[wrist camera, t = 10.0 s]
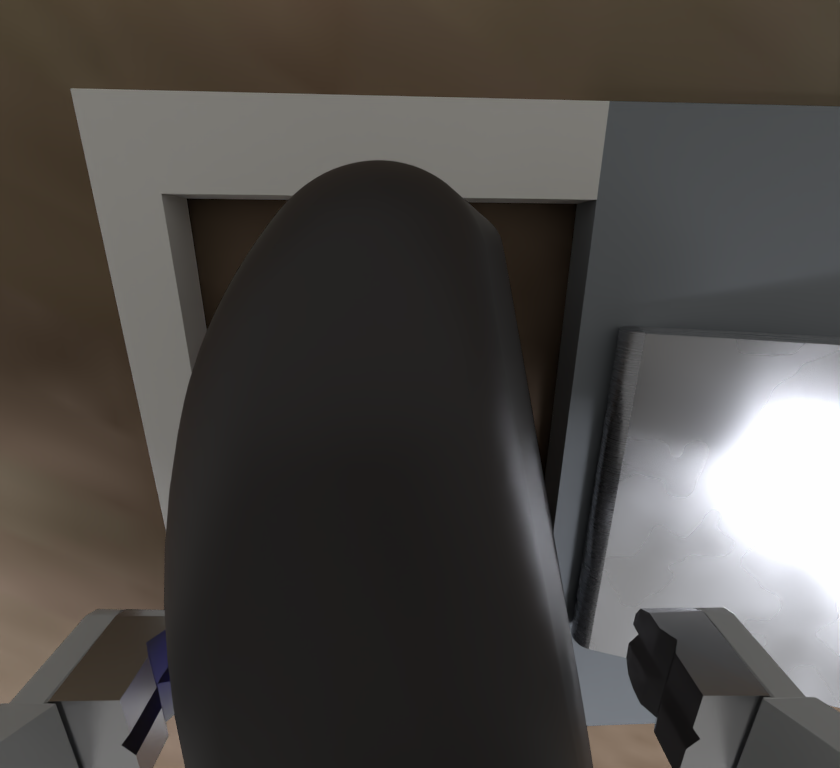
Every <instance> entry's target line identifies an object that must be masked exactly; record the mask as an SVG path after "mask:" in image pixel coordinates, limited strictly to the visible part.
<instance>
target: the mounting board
mask: <svg viewBox="0 0 840 768" xmlns="http://www.w3.org/2000/svg"><path fill="white" fill-rule="evenodd" d="M70 90H71V94H72V99H73V104H74V108H75V113H76V118H77V122H78V127H79V131H80V136H81V141H82V145H83V150H84V155H85V159H86V164H87V169H88V173H89V178H90V182H91V187H92V192H93V196H94V201H95V206H96V210H97V215H98V219H99V224H100V229H101V233H102V238H103V243H104V247H105V252H106V256H107V261H108V266H109V270H110V275H111V280H112V284H113V289H114V293H115V298H116V303H117V307H118V312H119V317H120V321H121V326H122V330H123V335H124V340H125V344H126V349H127V354H128V358H129V363H130V368H131V372H132V377H133V381H134V386H135V391H136V395H137V400H138V405H139V409H140V414H141V418H142V423H143V428H144V432H145V437H146V442H147V446H148V451H149V455H150V460H151V465H152V469H153V474H154V479H155V483H156V488H157V492H158V497H159V502H160V506H161V511H162V516H163V520H164V525H165V529H166V527H167V514H168V501H169V489H170V482H171V476H172V469H173V462H174V455H175V448H176V441H177V434H178V429H179V424H180V419H181V414H182V409H183V404H184V400H185V396H186V392H187V388H188V384H189V380H190V377H191V374H192V370H193V367H194V364H195V361H196V358H197V355H198V352H199V350H200V347H201V344H202V342H203V339H204V337H205V334H206V332H207V328H206V322H205V315H204V309H203V302H202V296H201V289H200V282H199V276H198V269H197V263H196V256H195V250H194V243H193V236H192V230H191V223H190V217H189V210H188V204H187V199H257V200H289V199H290V198H291V197H292V196H293V195H294V194H295V193H296V192H297V191H298V190H300V189H301V188H302V187H303V186H305V185H306V184H307V183H309V182H310V181H312V180H313V179H315V178H316V177H318V176H320V175H322V174H324V173H326V172H328V171H330V170H332V169H335V168H338V167H340V166H344V165H347V164H351V163H355V162H361V161H369V160H387V161H396V162H401V163H406V164H409V165H413V166H416V167H418V168H421V169H423V170H425V171H427V172H429V173H431V174H433V175H435V176H436V177H438V178H440V179H441V180H443V181H444V182H445V183H447V184H448V185H449V186H450V187H451V188H452V189H454V190H455V191H456V192H457V193H458V194H459V195H460V196H461V197H462V198H464V199H465V200H466V201H467V202H479V203H554V204H577V208H576V216H575V225H574V233H573V242H572V251H571V259H570V268H569V276H568V285H567V293H566V302H565V310H564V319H563V327H562V336H561V345H560V353H559V362H558V370H557V379H556V387H555V396H554V404H553V413H552V421H551V430H550V439H549V447H548V456H547V464H546V473H545V481H544V482H545V488H546V494H547V499H548V505H549V511H550V516H551V522H552V528H553V534H554V539H555V545H556V551H557V557H558V562H559V568H560V574H561V580H562V585H563V591H564V597H565V603H566V608H567V614H568V620H569V626H570V631H571V627H572V621H573V615H574V608H575V602H576V596H577V590H578V583H579V577H580V571H581V565H582V558H583V552H584V546H585V540H586V533H587V527H588V521H589V515H590V508H591V502H592V496H593V490H594V483H595V477H596V471H597V465H598V458H599V452H600V446H601V440H602V433H603V427H604V421H605V415H606V408H607V402H608V396H609V390H610V383H611V377H612V371H613V365H614V358H615V352H616V346H617V340H618V333H619V328H620V327H623V326H643V327H662V328H680V329H698V330H717V331H735V332H754V333H772V334H790V335H809V336H827V337H840V106H799V105H757V104H714V103H672V102H630V101H588V100H545V99H503V98H461V97H418V96H376V95H334V94H292V93H249V92H207V91H165V90H122V89H80V88H70ZM571 637H572V635H571ZM572 643H573V649H574V654H575V660H576V666H577V671H578V677H579V683H580V689H581V695H582V701H583V707H584V713H585V719H586V725H587V726H595V725H622V724H648V723H655V720H656V717H655V716H654V715H653V714H652V713H650V712H649V711H648V710H647V709H646V708H645V707H643V706H642V705H641V704H640V702H639V700H638V698H637V696H636V694H635V692H634V690H633V687H632V684H631V681H630V678H629V675H628V668H627V660H626V658H624V657H620V656H616V655H611V654H607V653H603V652H599V651H594V650H590V649H586V648H584V647H582V646H580V645H579V644H578V643H577V642H576V641H575V640H574V639H573V637H572Z"/></svg>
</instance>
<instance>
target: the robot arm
mask: <svg viewBox="0 0 840 768" xmlns="http://www.w3.org/2000/svg"><path fill="white" fill-rule="evenodd" d="M633 625H634V627H635V629H636V631H637V632H638V635H637V636H636V637H635V638H634V639H633V640H632V641H631V642H629V644H628V650H627V656H626V660H627V668H628V675H629V678H630V681H631V684H632V687H633V690H634V692H635V694H636V696H637V698H638V700H639V702H640V704H641V705H642V706H643V707H645V708H646V709H647V710H648V711H649V712H650V713H652V714H653V715H654V716H655V717H656V720H655V728H654V733H655V735H656V737H657V739H658V741H659V743H660V745H661V747H662V749H663V751H664V753H665V755H666V757H667V759H668V761H669V763H670V765H671V767H672V768H840V712H838V711H837V710H835V709H833V708H832V707H830V706H829V705H827V704H826V703H824V702H822V701H821V700H819V699H818V698H816V697H806V696H805V695H804V694H803V693H802V692H801V691H800V689H799V688H798V687H797V686H796V685H795V684H794V683H793V681H792V680H791V679H790V678H789V677H788V676H787V675H786V673H785V672H784V671H783V670H782V669H781V668H780V666H779V665H778V664H777V663H776V662H775V661H774V660H773V658H772V657H771V656H770V655H769V654H768V653H767V652H766V650H765V649H764V648H763V647H762V646H761V645H760V644H759V642H758V641H757V640H756V639H755V638H754V637H753V636H752V634H751V633H750V632H749V631H748V630H747V629H746V627H745V626H744V625H743V624H742V623H741V622H740V621H739V619H738V618H737V617H736V616H735V615H734V614H733V613H732V612H731V611H729V610H727V609H726V608H724V607H715V608H640V610H639V611H638V612H637V613H636V614H635V618H634V622H633ZM173 715H174V709H173V701H172V692H171V684H170V676H169V668H168V660H167V645H166V628H165V610H140V609H125V610H119V609H96V610H95V611H93V612H91V613H89V614H88V615H86V616H85V617H84V618H83V619H82V621H81V622H80V623H79V624H78V625H77V626H76V627H75V629H74V630H73V631H72V632H71V633H70V634H69V635H68V637H67V638H66V639H65V640H64V641H63V642H62V643H61V645H60V646H59V647H58V648H57V649H56V650H55V651H54V653H53V654H52V655H51V656H50V657H49V658H48V659H47V661H46V662H45V663H44V664H43V665H42V666H41V667H40V669H39V670H38V671H37V672H36V673H35V674H34V675H33V677H32V678H31V679H30V680H29V681H28V682H27V683H26V685H25V686H24V687H23V688H22V689H21V690H20V691H19V693H18V694H17V695H16V696H15V697H14V698H13V699H12V701H11V702H10V703H7V704H0V768H153V766H154V764H155V762H156V760H157V758H158V756H159V754H160V752H161V750H162V748H163V746H164V744H165V742H166V740H167V738H168V731H167V725H166V721H168V720H169V719H170V718H171V717H172V716H173Z"/></svg>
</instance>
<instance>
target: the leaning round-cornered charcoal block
mask: <svg viewBox="0 0 840 768" xmlns="http://www.w3.org/2000/svg"><path fill="white" fill-rule="evenodd" d="M164 610H165V628H166V645H167V660H168V668H169V676H170V684H171V692H172V701H173V709H174V715H175V720H176V725H177V730H178V735H179V740H180V744H181V749H182V754H183V759H184V764H185V768H593V764H592V757H591V751H590V744H589V738H588V731H587V725H586V719H585V713H584V707H583V701H582V695H581V689H580V683H579V677H578V671H577V666H576V660H575V654H574V649H573V643H572V637H571V631H570V626H569V620H568V614H567V608H566V603H565V597H564V591H563V585H562V580H561V574H560V568H559V562H558V557H557V551H556V545H555V539H554V534H553V528H552V522H551V516H550V511H549V505H548V499H547V494H546V488H545V482H544V476H543V471H542V465H541V459H540V453H539V448H538V442H537V436H536V430H535V425H534V419H533V413H532V407H531V402H530V396H529V390H528V384H527V379H526V373H525V367H524V361H523V356H522V350H521V344H520V338H519V333H518V327H517V321H516V316H515V310H514V304H513V298H512V293H511V287H510V281H509V276H508V270H507V265H506V259H505V254H504V249H503V244H502V240H501V237H500V235H499V233H498V231H497V229H496V228H495V227H494V226H493V225H492V224H491V223H490V222H489V221H488V220H487V219H486V218H485V217H484V216H483V215H481V214H480V213H479V212H478V211H477V210H476V209H475V208H474V207H473V206H471V205H470V204H469V203H468V202H467V201H466V200H465V199H464V198H462V197H461V196H460V195H459V194H458V193H457V192H456V191H455V190H454V189H452V188H451V187H450V186H449V185H448V184H447V183H445V182H444V181H443V180H441V179H440V178H438V177H436V176H435V175H433V174H431V173H429V172H427V171H425V170H423V169H421V168H418V167H416V166H413V165H409V164H406V163H401V162H396V161H387V160H369V161H361V162H355V163H351V164H347V165H344V166H340V167H338V168H335V169H332V170H330V171H328V172H326V173H324V174H322V175H320V176H318V177H316V178H315V179H313V180H312V181H310V182H309V183H307V184H306V185H305V186H303V187H302V188H301V189H300V190H298V191H297V192H296V193H295V194H294V195H293V196H292V197H291V198H290V199H289V200H288V201H287V202H286V203H285V204H284V205H283V206H282V208H281V209H280V210H279V211H278V213H277V214H276V215H275V216H274V218H273V219H272V220H271V222H270V223H269V224H268V225H267V227H266V228H265V230H264V231H263V232H262V234H261V235H260V236H259V238H258V239H257V241H256V242H255V244H254V245H253V247H252V248H251V250H250V251H249V253H248V254H247V256H246V257H245V259H244V261H243V262H242V264H241V266H240V267H239V269H238V270H237V272H236V274H235V276H234V277H233V279H232V281H231V283H230V284H229V286H228V288H227V290H226V292H225V294H224V296H223V298H222V300H221V302H220V303H219V305H218V308H217V310H216V312H215V314H214V316H213V318H212V320H211V323H210V325H209V327H208V329H207V332H206V334H205V337H204V339H203V342H202V344H201V347H200V350H199V352H198V355H197V358H196V361H195V364H194V367H193V370H192V374H191V377H190V380H189V384H188V388H187V392H186V396H185V400H184V404H183V409H182V414H181V419H180V424H179V429H178V434H177V441H176V448H175V455H174V462H173V469H172V476H171V482H170V489H169V501H168V514H167V527H166V539H165V574H164Z"/></svg>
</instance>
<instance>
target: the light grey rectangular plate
mask: <svg viewBox="0 0 840 768" xmlns="http://www.w3.org/2000/svg"><path fill="white" fill-rule="evenodd" d="M715 607H724V608H726V609H727V610H729V611H731V612H732V613H733V614H734V615H735V616H736V617H737V618H738V619H739V621H740V622H741V623H742V624H743V625H744V626H745V627H746V629H747V630H748V631H749V632H750V633H751V634H752V636H753V637H754V638H755V639H756V640H757V641H758V642H759V644H760V645H761V646H762V647H763V648H764V649H765V650H766V652H767V653H768V654H769V655H770V656H771V657H772V658H773V660H774V661H775V662H776V663H777V664H778V665H779V666H780V668H781V669H782V670H783V671H784V672H785V673H786V675H787V676H788V677H789V678H790V679H791V680H792V681H793V683H794V684H795V685H796V686H797V687H798V688H799V689H800V691H801V692H802V693H803V694H804V695H805V696H806V697H816V698H818V699H819V700H821V701H822V702H824V703H826V704H827V705H830V706H834V707H838V708H840V337H827V336H809V335H790V334H772V333H754V332H735V331H717V330H698V329H680V328H662V327H643V326H623V327H620V328H619V333H618V340H617V346H616V352H615V358H614V365H613V371H612V377H611V383H610V390H609V396H608V402H607V408H606V415H605V421H604V427H603V433H602V440H601V446H600V452H599V458H598V465H597V471H596V477H595V483H594V490H593V496H592V502H591V508H590V515H589V521H588V527H587V533H586V540H585V546H584V552H583V558H582V565H581V571H580V577H579V583H578V590H577V596H576V602H575V608H574V615H573V621H572V627H571V635H572V637H573V639H574V640H575V641H576V642H577V643H578V644H579V645H580V646H582V647H584V648H586V649H590V650H594V651H599V652H603V653H607V654H611V655H616V656H620V657H624V658H626V656H627V650H628V644H629V642H631V641H632V640H633V639H634V638H635V637H636V636H637V635H638V632H637V631H636V629H635V627H634V625H633V622H634V618H635V614H636V613H637V612H638V611H639V610H640V608H715Z"/></svg>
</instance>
